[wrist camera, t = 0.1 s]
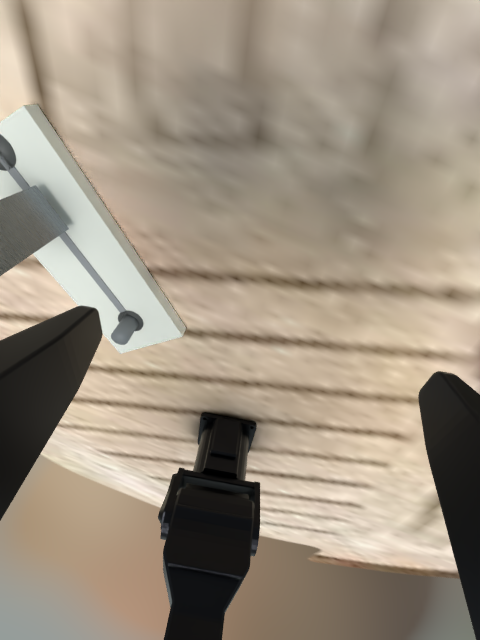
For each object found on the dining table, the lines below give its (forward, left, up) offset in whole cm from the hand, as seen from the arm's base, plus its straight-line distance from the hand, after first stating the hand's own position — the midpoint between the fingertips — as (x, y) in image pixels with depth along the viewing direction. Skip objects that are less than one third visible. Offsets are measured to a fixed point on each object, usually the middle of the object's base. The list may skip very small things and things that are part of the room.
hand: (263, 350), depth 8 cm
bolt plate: (-7, +13, -15) cm, 21 cm away
